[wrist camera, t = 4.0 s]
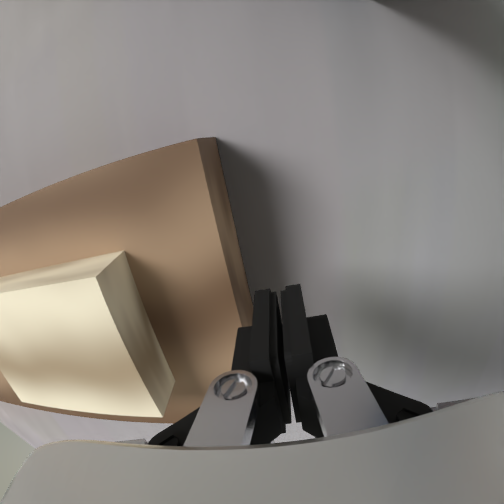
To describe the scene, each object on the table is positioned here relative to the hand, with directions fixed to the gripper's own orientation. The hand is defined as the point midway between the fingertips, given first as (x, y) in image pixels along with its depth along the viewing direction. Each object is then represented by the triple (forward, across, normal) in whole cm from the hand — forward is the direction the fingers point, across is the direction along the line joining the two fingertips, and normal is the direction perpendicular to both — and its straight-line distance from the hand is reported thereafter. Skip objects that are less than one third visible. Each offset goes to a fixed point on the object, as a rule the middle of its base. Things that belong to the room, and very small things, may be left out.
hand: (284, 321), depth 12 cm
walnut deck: (+5, +14, 0) cm, 15 cm away
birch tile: (+1, +11, 0) cm, 11 cm away
